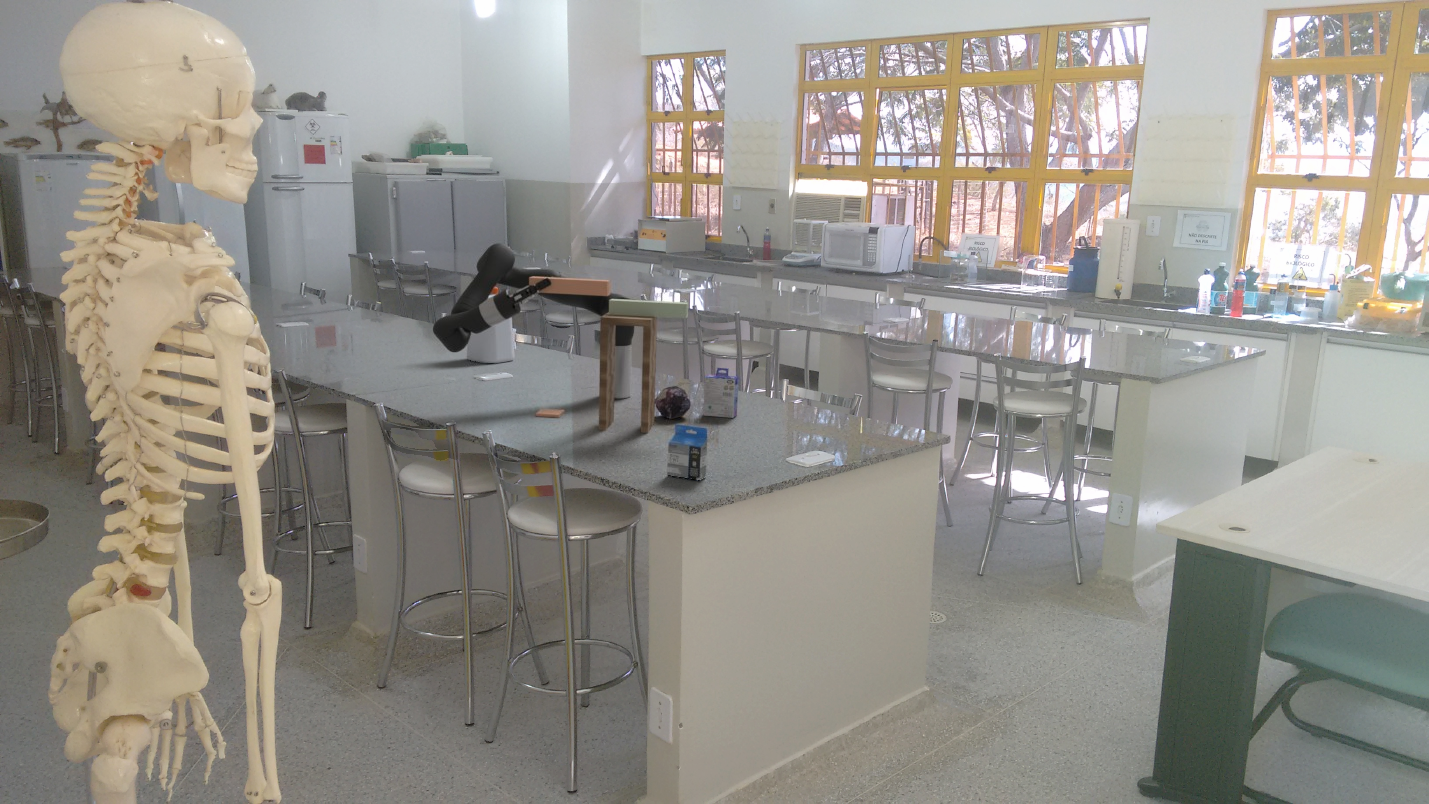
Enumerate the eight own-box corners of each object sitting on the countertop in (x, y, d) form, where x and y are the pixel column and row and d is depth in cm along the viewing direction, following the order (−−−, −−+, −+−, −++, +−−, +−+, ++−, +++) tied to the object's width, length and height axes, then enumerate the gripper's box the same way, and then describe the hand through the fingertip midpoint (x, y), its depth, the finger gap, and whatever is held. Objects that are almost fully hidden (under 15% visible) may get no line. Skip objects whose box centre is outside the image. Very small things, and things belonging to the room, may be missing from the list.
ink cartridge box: (737, 414, 319) (739, 368, 316) (734, 418, 313) (736, 371, 310) (706, 412, 321) (708, 366, 318) (702, 416, 315) (704, 369, 312)
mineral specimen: (650, 407, 316) (664, 377, 315) (681, 421, 317) (695, 392, 316) (649, 413, 307) (664, 382, 305) (681, 427, 308) (696, 397, 306)
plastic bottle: (491, 355, 407) (491, 284, 402) (519, 360, 399) (519, 287, 393) (462, 360, 395) (461, 286, 390) (489, 365, 387) (489, 290, 381)
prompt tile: (541, 411, 313) (541, 408, 313) (564, 412, 313) (564, 409, 312) (535, 416, 306) (535, 413, 306) (558, 417, 306) (558, 414, 306)
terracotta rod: (532, 290, 291) (532, 276, 290) (610, 294, 289) (610, 280, 289) (529, 292, 287) (529, 277, 287) (607, 296, 286) (607, 281, 285)
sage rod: (611, 312, 296) (611, 298, 295) (687, 316, 294) (688, 302, 294) (608, 314, 292) (609, 300, 292) (686, 318, 290) (686, 304, 290)
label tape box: (666, 476, 249) (667, 426, 246) (673, 472, 252) (675, 423, 250) (699, 481, 245) (701, 431, 243) (706, 477, 249) (708, 428, 246)
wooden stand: (607, 420, 304) (608, 312, 297) (654, 423, 303) (657, 314, 296) (598, 430, 292) (600, 317, 286) (647, 432, 291) (650, 319, 285)
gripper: (485, 298, 284) (538, 270, 281) (500, 293, 298) (551, 266, 295) (498, 323, 285) (552, 294, 282) (513, 316, 299) (564, 289, 296)
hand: (551, 280), depth 288 cm, fingers closed on terracotta rod, 4 cm apart
